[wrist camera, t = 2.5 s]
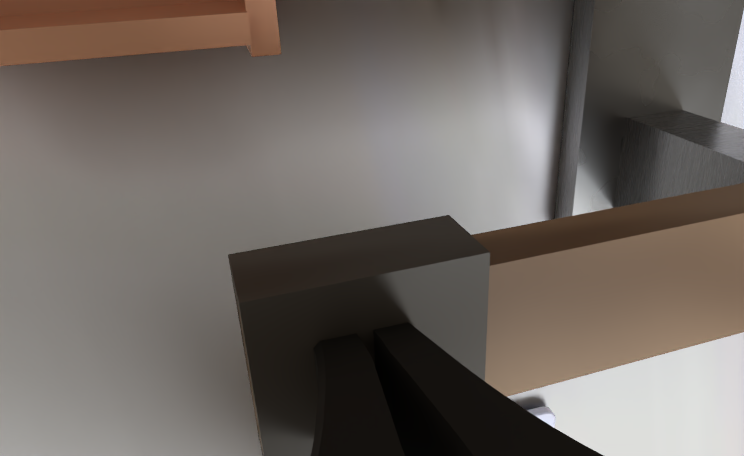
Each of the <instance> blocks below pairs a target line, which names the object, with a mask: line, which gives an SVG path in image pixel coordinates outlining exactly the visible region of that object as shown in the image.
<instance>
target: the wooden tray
mask: <svg viewBox="0 0 744 456" xmlns="http://www.w3.org/2000/svg"><path fill="white" fill-rule="evenodd" d="M228 257H229V263H230V269H231V275H232V281H233V287H234V293H235V298H236V304H237V310H238V316H239V322H240V328H241V334H242V340H243V346H244V352H245V358H246V364H247V370H248V376H249V381H250V387H251V393H252V399H253V405H254V411H255V417H256V423H257V429H258V435H259V440H260V445H261V450H262V455H263V456H311V452H312V447H313V441H314V433H315V424H316V413H317V402H318V386H317V377H316V368H315V359H314V350H313V348H314V347H315V346H316V345H317V344H318V342H319V341H322V340H327V339H332V338H337V337H341V336H346V335H351V334H355V333H356V334H357V335H358V336H359V338H360V339H361V341H362V342H363V343H364V345H365V347H366V348H367V350H368V352H369V353H370V355H371V357H372V360H373V363H374V366H375V350H374V332H373V330H374V329H379V328H384V327H388V326H393V325H398V324H403V323H407V322H409V323H410V324H411V325H413V326H414V327H415V328H417V329H418V330H419V331H420V332H422V333H423V334H424V335H425V336H427V337H428V338H429V339H431V340H432V341H433V342H434V343H436V344H437V345H438V346H439V347H441V348H442V349H443V350H444V351H446V352H447V353H448V354H449V355H451V356H452V357H453V358H455V359H456V360H457V361H458V362H460V363H461V364H462V365H464V366H465V367H466V368H468V369H469V370H470V371H471V372H473V373H474V374H475V375H477V376H478V377H480V378H481V379H482V380H484V381H485V382H486V383H488V384H489V385H491V386H492V387H493V388H495V389H496V390H498V391H499V392H500V393H502V394H503V395H504V396H506V397H507V396H511V395H514V394H518V393H522V392H525V391H529V390H533V389H536V388H540V387H544V386H547V385H551V384H555V383H558V382H562V381H566V380H569V379H573V378H577V377H580V376H584V375H588V374H591V373H595V372H599V371H602V370H606V369H610V368H613V367H617V366H621V365H624V364H628V363H632V362H635V361H639V360H643V359H646V358H650V357H654V356H657V355H661V354H665V353H668V352H672V351H676V350H679V349H683V348H687V347H690V346H694V345H698V344H701V343H705V342H709V341H712V340H716V339H720V338H723V337H727V336H731V335H734V334H738V333H742V332H744V183H741V184H736V185H730V186H725V187H720V188H715V189H710V190H704V191H699V192H694V193H689V194H683V195H678V196H673V197H668V198H662V199H657V200H652V201H647V202H642V203H636V204H631V205H626V206H621V207H615V208H610V209H605V210H600V211H595V212H589V213H584V214H579V215H574V216H568V217H563V218H558V219H553V220H547V221H542V222H537V223H532V224H527V225H521V226H516V227H511V228H506V229H500V230H495V231H490V232H485V233H480V234H474V235H470V234H469V233H468V232H467V231H466V230H465V229H464V228H463V227H461V226H460V225H459V224H458V223H457V222H456V221H455V220H454V219H453V218H451V217H450V216H449V215H446V216H441V217H435V218H430V219H424V220H418V221H413V222H407V223H402V224H396V225H391V226H385V227H380V228H374V229H368V230H363V231H357V232H352V233H346V234H341V235H335V236H329V237H324V238H318V239H313V240H307V241H302V242H296V243H291V244H285V245H279V246H274V247H268V248H263V249H257V250H252V251H246V252H241V253H235V254H229V255H228ZM375 369H376V368H375Z"/></svg>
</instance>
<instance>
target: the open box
mask: <svg viewBox="0 0 744 456" xmlns="http://www.w3.org/2000/svg"><path fill="white" fill-rule="evenodd" d="M245 45H246V46H247V48H248V50H249V52H250V54H251V56H252V57H256V56H267V55H278V54H281V47H280V37H279V28H278V19H277V10H276V0H0V66H7V65H19V64H31V63H43V62H55V61H67V60H78V59H90V58H102V57H114V56H126V55H138V54H150V53H162V52H173V51H185V50H197V49H209V48H221V47H233V46H245Z"/></svg>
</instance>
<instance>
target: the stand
mask: <svg viewBox="0 0 744 456" xmlns="http://www.w3.org/2000/svg"><path fill="white" fill-rule="evenodd" d="M743 10H744V0H574V11H573V22H572V33H571V44H570V55H569V66H568V76H567V87H566V98H565V109H564V120H563V131H562V142H561V153H560V164H559V175H558V186H557V197H556V208H555V219H558V218H563V217H568V216H574V215H579V214H584V213H589V212H595V211H600V210H605V209H610V208H615V207H621V206H626V205H631V204H636V203H642V202H647V201H652V200H657V199H662V198H668V197H673V196H678V195H683V194H689V193H694V192H699V191H704V190H710V189H715V188H720V187H725V186H730V185H736V184H741V183H744V129H741V128H737V127H734V126H731V125H728V124H725V123H722V122H721V117H722V112H723V107H724V102H725V97H726V92H727V87H728V83H729V78H730V73H731V68H732V63H733V58H734V53H735V49H736V44H737V39H738V34H739V29H740V24H741V19H742V15H743Z"/></svg>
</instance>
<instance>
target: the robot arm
mask: <svg viewBox="0 0 744 456" xmlns="http://www.w3.org/2000/svg"><path fill="white" fill-rule="evenodd" d="M373 332H374V350H375V366H374V363H373V360H372V357H371V355H370V353H369V352H368V350H367V348H366V347H365V345H364V343H363V342H362V341H361V339H360V338H359V336H358V335H357V334H356V333H355V334H351V335H346V336H341V337H337V338H332V339H327V340H322V341H319V342H318V344H317V345H316V346H315V347H314V348H313V350H314V359H315V368H316V377H317V386H318V402H317V413H316V424H315V433H314V441H313V447H312V452H311V456H603V455H601V454H599V453H598V452H596V451H594V450H592V449H590V448H588V447H586V446H585V445H583V444H581V443H579V442H577V441H575V440H574V439H572V438H570V437H569V436H567V435H565V434H564V433H562V432H560V431H558V430H557V429H555V415H554V414H553V412H552V411H551V410H550V409H549V408H548V407H538V408H534V409H529V410H525V409H524V408H522V407H521V406H519V405H518V404H516V403H515V402H513V401H512V400H510V399H509V398H507V397H506V396H504V395H503V394H502V393H500V392H499V391H498V390H496V389H495V388H493V387H492V386H491V385H489V384H488V383H486V382H485V381H484V380H482V379H481V378H480V377H478V376H477V375H475V374H474V373H473V372H471V371H470V370H469V369H468V368H466V367H465V366H464V365H462V364H461V363H460V362H458V361H457V360H456V359H455V358H453V357H452V356H451V355H449V354H448V353H447V352H446V351H444V350H443V349H442V348H441V347H439V346H438V345H437V344H436V343H434V342H433V341H432V340H431V339H429V338H428V337H427V336H425V335H424V334H423V333H422V332H420V331H419V330H418V329H417V328H415V327H414V326H413V325H411V324H410V323H409V322H407V323H403V324H398V325H393V326H388V327H384V328H379V329H374V330H373ZM375 368H376V369H375Z"/></svg>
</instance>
